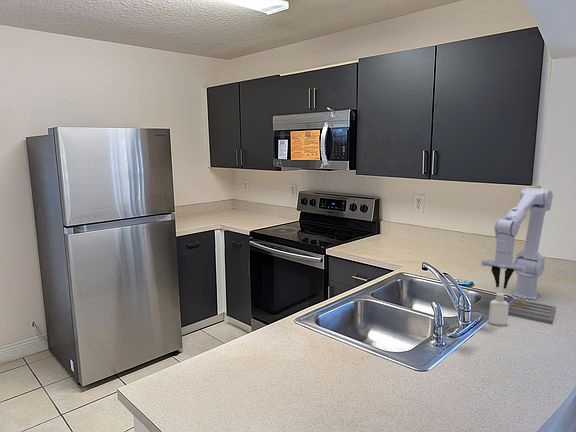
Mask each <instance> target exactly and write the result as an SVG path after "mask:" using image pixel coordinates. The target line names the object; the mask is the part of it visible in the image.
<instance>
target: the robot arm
mask: <svg viewBox="0 0 576 432" xmlns="http://www.w3.org/2000/svg"><path fill="white" fill-rule="evenodd" d="M553 196H554V195H553V192H552V190H551V189H550V188H536V187H535V188H532V187H526V186H525V187H523V188H522V189H521V191H520V194H519V202H518V203H517V205H516V206H514V207H512V208H510V209H509V210H508V212H507V213H506V214H505V215H504V216H503V218H499V219H498V220H496V221H495V224H494V234H495V239H496V243H495V257H494V260H492V259H491V260H490V259H482V260H481V262H480V263H481V264H480V265H481V267H489V268H490V267H491V273H492V275H493V277H494V282H495V288H499V287H500V277H501V269H504V282H503V289H504V290H505V289H507V287H508V282H509V281H510V278H511V277H512V275H513V273H514V272H515V274H517V275H516V276H517V277H516V286H515V287H516V288H515V291H514V292H513V297H518V298H519V297H520V295H521V296H522V295H524V296H526V299H529V300H535V301H536V300H537V298H538V295H539V292H537V289H538V279H539V277H541V275H543V273H544V271H545V257H544V256H543V255H542V254H541V253H539V251H538V250H539V247H540V241H541V237H542V236H541V235H542V232H543V231H542V230H543V224H544V221H545V220H544V219H545V215H546V212H548V211H550V210H551V207H552V203H553V198H554V197H553ZM528 210H529V212H530V214H529V221H528V226H527V229H526V231H527V232H526V237H525V242H524V248H523V250H520V251H519V252H517V253H516V254H515V258H514V248H515V238H516V236H517V235H518V234H519V230H520V228H521V223H523V221H524V220H525V218H526V216H527V213H526V212H527V211H528Z"/></svg>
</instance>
